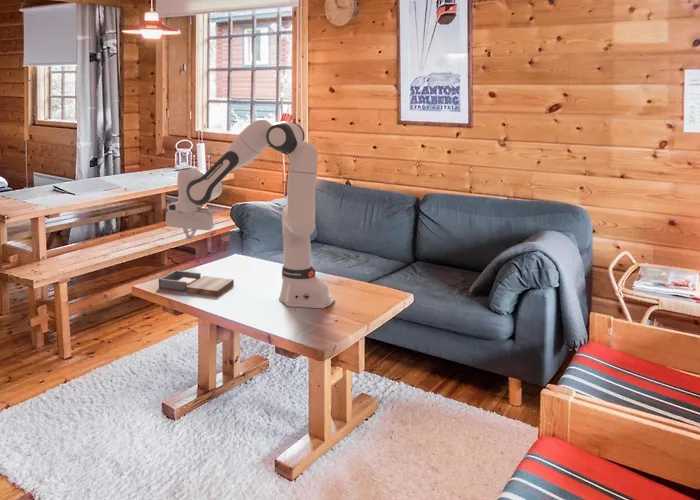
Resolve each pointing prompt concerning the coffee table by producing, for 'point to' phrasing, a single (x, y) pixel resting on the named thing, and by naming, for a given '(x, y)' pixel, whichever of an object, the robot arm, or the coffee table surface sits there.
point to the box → (172, 279)
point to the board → (209, 286)
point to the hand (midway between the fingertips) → (190, 238)
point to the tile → (187, 280)
